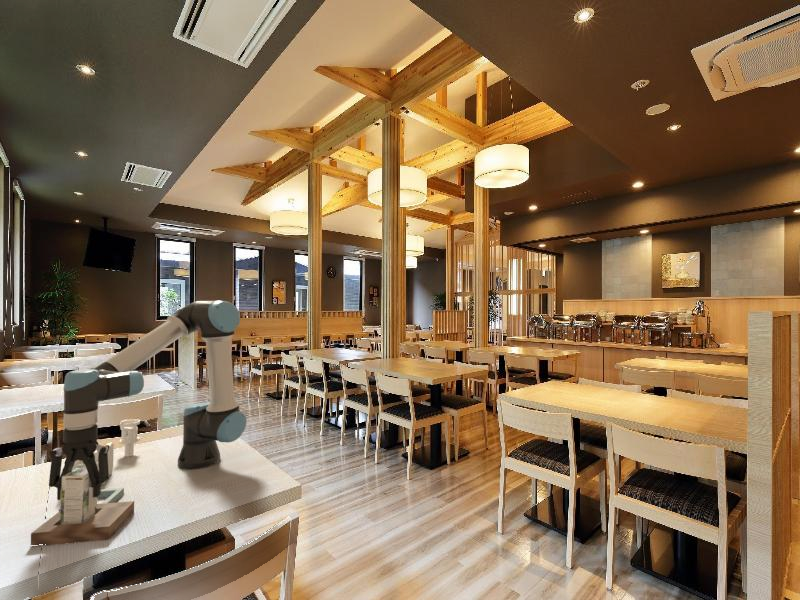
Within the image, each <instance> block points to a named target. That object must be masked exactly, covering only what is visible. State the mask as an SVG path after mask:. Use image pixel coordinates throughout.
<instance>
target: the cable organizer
mask: <svg viewBox="0 0 800 600" xmlns="http://www.w3.org/2000/svg"><path fill="white" fill-rule="evenodd" d="M106 445H109V450H108V471H109V477H110V475H111V474H112V472H113V471H114V470H113V469H114V442H113V441H112V442H108V443H106ZM94 455H95V462H96V465H97V468H98V471H99V465H98V455H99V454H97V450H95V452H94ZM83 467H86V466H85V464H84V463H83V461H80V460H76V461H75V463H74V466H73V468H72V471H73V470H75V469H77V468H83ZM106 482H107V480H106V481H105V482H104V483H101V485H103V486H104V485H105V483H106Z"/></svg>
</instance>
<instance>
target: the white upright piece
mask: <svg viewBox="0 0 800 600" xmlns="http://www.w3.org/2000/svg"><path fill="white" fill-rule="evenodd" d="M140 424H141V420H140V419H124V420H120V422H119V427H120V428H119V430H121V438H120V439H119V442H118V444H119V445H121V446H122V445H124V457H131V456H134V455H135V454H134V448H135V444H136V443H138V442H140V441H141V439H140V436H138V430H139V429H138V428H139V427H138V425H140ZM133 454H134V455H133Z"/></svg>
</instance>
